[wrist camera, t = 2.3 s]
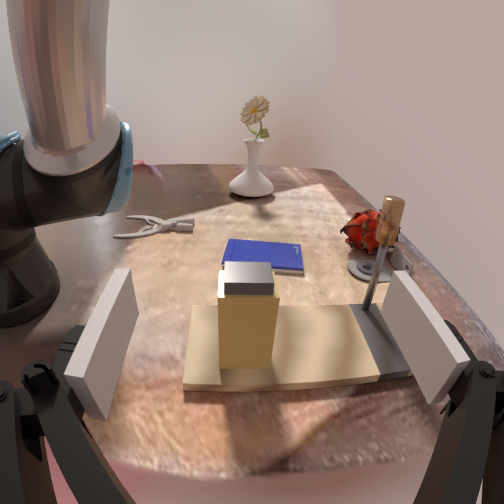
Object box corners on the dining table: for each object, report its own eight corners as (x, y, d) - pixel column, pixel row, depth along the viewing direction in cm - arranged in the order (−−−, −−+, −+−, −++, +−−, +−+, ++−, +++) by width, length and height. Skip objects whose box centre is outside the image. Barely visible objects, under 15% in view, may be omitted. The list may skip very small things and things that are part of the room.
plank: (183, 390, 28) (182, 383, 27) (192, 312, 38) (192, 305, 38) (457, 365, 30) (461, 359, 30) (419, 307, 41) (422, 300, 40)
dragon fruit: (397, 260, 56) (339, 265, 57) (389, 222, 59) (333, 225, 60) (412, 241, 48) (346, 245, 49) (401, 199, 52) (339, 201, 53)
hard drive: (300, 243, 54) (229, 237, 55) (303, 268, 47) (221, 261, 47) (299, 251, 55) (229, 245, 55) (302, 276, 48) (221, 270, 48)
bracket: (341, 262, 52) (345, 244, 50) (391, 262, 53) (395, 245, 51) (354, 285, 46) (359, 265, 44) (407, 283, 47) (413, 265, 45)
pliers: (127, 211, 62) (196, 211, 64) (128, 218, 63) (196, 218, 64) (112, 232, 54) (190, 232, 55) (113, 239, 55) (191, 240, 56)
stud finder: (219, 368, 29) (217, 285, 24) (219, 340, 33) (219, 259, 28) (269, 368, 30) (281, 285, 25) (266, 340, 33) (275, 259, 28)
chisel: (359, 315, 37) (390, 202, 30) (354, 303, 39) (381, 194, 32) (376, 314, 38) (408, 204, 30) (370, 302, 40) (399, 196, 32)
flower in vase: (223, 188, 82) (226, 93, 70) (263, 185, 85) (269, 95, 73) (237, 205, 71) (242, 94, 59) (283, 202, 75) (292, 98, 62)
